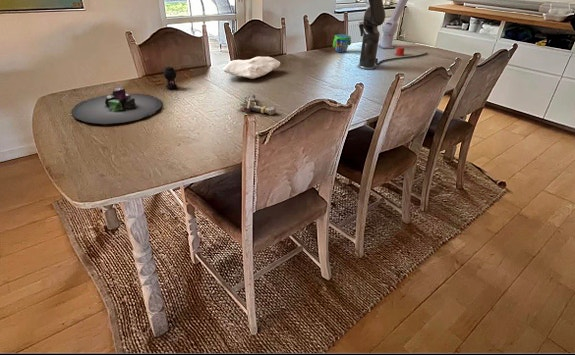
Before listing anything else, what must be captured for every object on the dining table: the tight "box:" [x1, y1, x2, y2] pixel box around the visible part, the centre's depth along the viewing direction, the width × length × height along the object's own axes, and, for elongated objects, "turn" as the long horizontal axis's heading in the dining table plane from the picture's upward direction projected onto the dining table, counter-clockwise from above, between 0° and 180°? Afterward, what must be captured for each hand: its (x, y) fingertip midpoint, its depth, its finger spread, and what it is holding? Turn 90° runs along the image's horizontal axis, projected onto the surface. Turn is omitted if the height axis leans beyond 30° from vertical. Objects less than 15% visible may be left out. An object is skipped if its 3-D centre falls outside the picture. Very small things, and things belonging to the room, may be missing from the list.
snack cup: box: [332, 34, 352, 53], centre depth 246 cm, size 16×10×10 cm
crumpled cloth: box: [222, 56, 281, 80], centre depth 195 cm, size 24×35×9 cm
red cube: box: [395, 46, 405, 57], centre depth 246 cm, size 5×5×5 cm
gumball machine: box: [161, 66, 179, 90], centre depth 173 cm, size 7×6×10 cm
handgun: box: [239, 93, 277, 116], centre depth 158 cm, size 3×18×15 cm
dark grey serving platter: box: [70, 86, 163, 125], centre depth 150 cm, size 35×35×9 cm
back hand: (366, 36), depth 256 cm, fingers open, 7 cm apart
